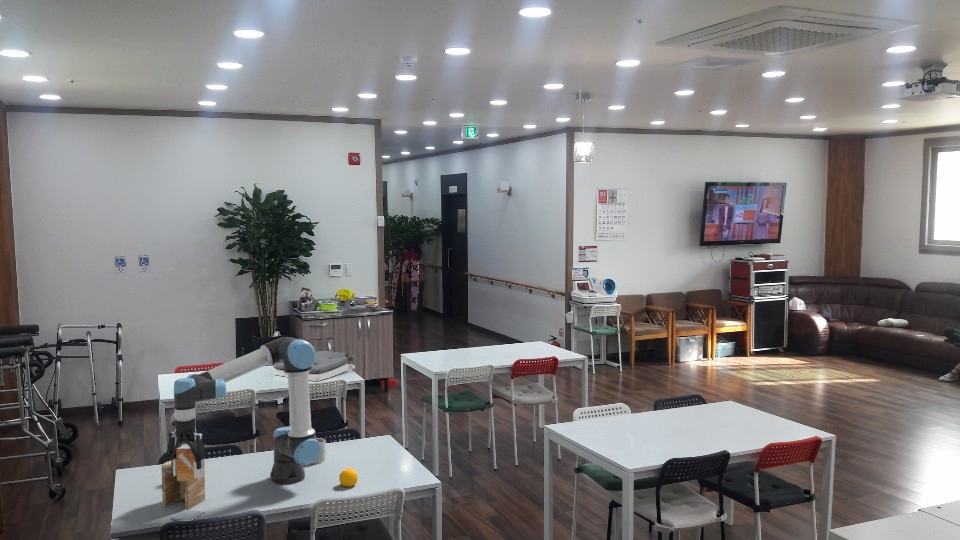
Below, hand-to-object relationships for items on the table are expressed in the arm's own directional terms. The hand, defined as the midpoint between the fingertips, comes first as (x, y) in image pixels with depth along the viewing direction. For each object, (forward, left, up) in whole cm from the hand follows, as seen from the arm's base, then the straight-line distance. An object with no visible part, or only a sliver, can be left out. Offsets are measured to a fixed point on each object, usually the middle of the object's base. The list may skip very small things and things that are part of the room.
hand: (186, 476), depth 289 cm
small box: (0, -2, -2) cm, 3 cm away
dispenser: (+10, -11, -16) cm, 22 cm away
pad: (0, 0, -16) cm, 16 cm away
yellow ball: (-46, -48, -16) cm, 69 cm away
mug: (-16, -76, -16) cm, 79 cm away
